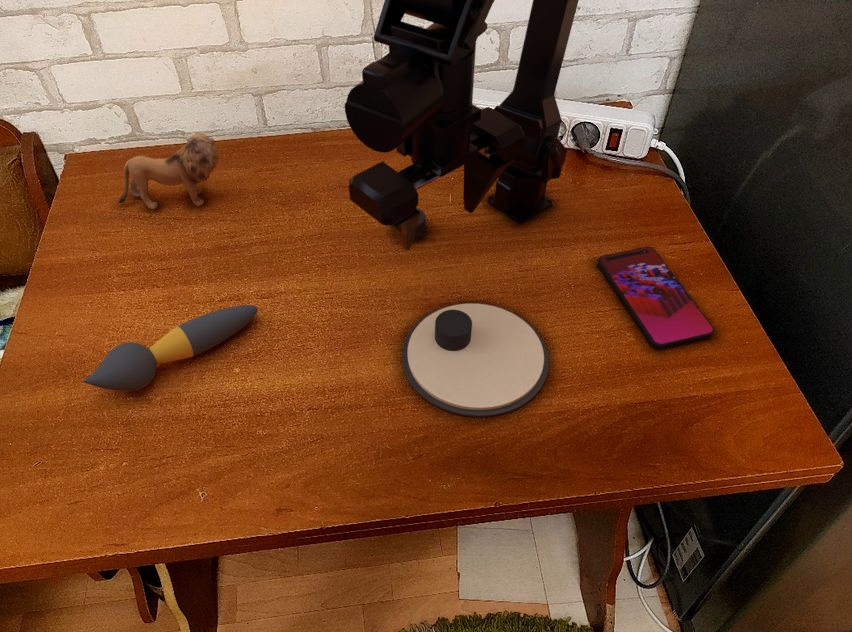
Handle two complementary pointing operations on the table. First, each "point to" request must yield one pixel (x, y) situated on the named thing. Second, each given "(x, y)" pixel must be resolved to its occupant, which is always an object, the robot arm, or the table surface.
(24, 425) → the table surface
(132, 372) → the paintbrush
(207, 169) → the lion figurine
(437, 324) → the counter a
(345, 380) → the table surface
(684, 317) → the smartphone
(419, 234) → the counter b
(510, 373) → the face circle
